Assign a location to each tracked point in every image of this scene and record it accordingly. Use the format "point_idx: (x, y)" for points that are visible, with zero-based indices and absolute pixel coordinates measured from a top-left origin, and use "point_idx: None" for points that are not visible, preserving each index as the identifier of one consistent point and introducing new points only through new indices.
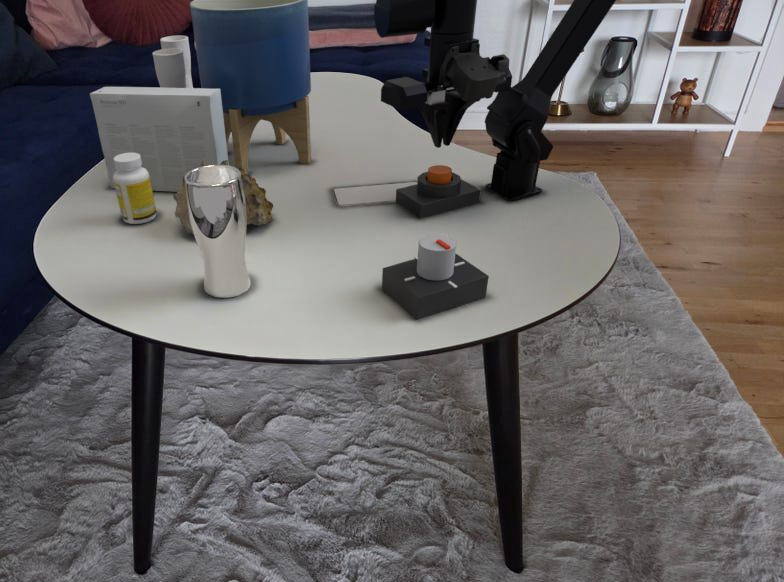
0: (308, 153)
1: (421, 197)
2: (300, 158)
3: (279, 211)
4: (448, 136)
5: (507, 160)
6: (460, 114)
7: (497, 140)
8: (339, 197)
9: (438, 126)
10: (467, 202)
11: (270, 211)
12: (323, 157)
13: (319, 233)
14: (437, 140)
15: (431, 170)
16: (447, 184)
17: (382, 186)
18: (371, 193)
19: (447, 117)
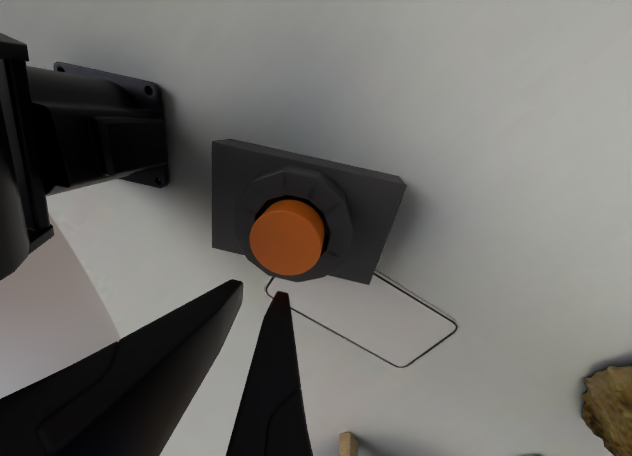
0: (348, 453)
1: (366, 216)
2: (356, 448)
3: (543, 376)
4: (223, 310)
5: (62, 124)
6: (39, 411)
7: (14, 188)
8: (427, 344)
9: (293, 397)
10: (262, 147)
11: (621, 385)
12: (314, 429)
13: (606, 277)
14: (290, 320)
15: (309, 257)
16: (306, 187)
17: (332, 322)
18: (372, 318)
19: (150, 430)
